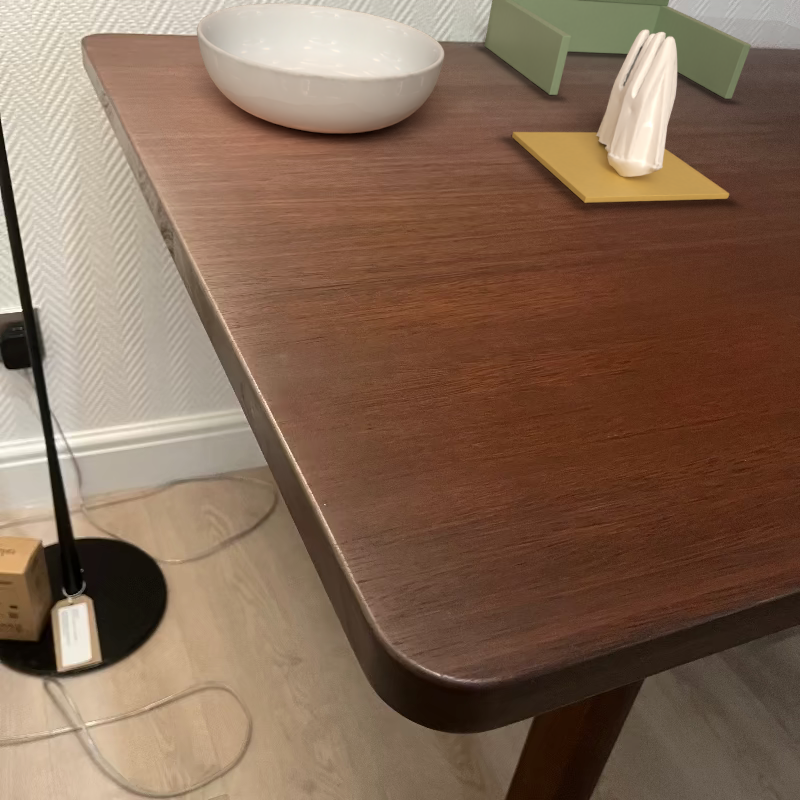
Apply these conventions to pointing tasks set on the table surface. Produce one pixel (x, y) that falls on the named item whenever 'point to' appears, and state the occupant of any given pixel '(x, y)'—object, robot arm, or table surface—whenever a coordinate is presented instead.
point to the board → (613, 171)
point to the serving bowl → (319, 65)
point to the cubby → (608, 38)
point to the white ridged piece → (641, 106)
